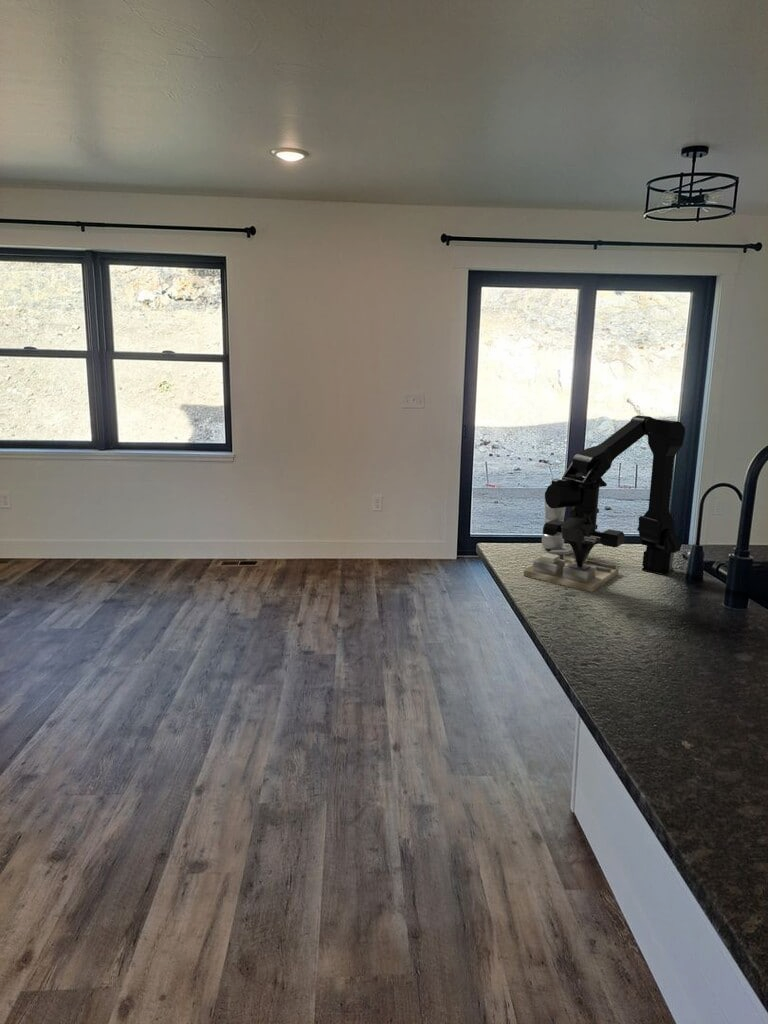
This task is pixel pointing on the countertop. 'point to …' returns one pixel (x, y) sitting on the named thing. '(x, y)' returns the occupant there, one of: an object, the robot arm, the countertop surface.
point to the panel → (573, 573)
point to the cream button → (549, 558)
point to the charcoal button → (580, 567)
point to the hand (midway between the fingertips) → (580, 566)
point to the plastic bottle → (557, 540)
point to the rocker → (560, 552)
